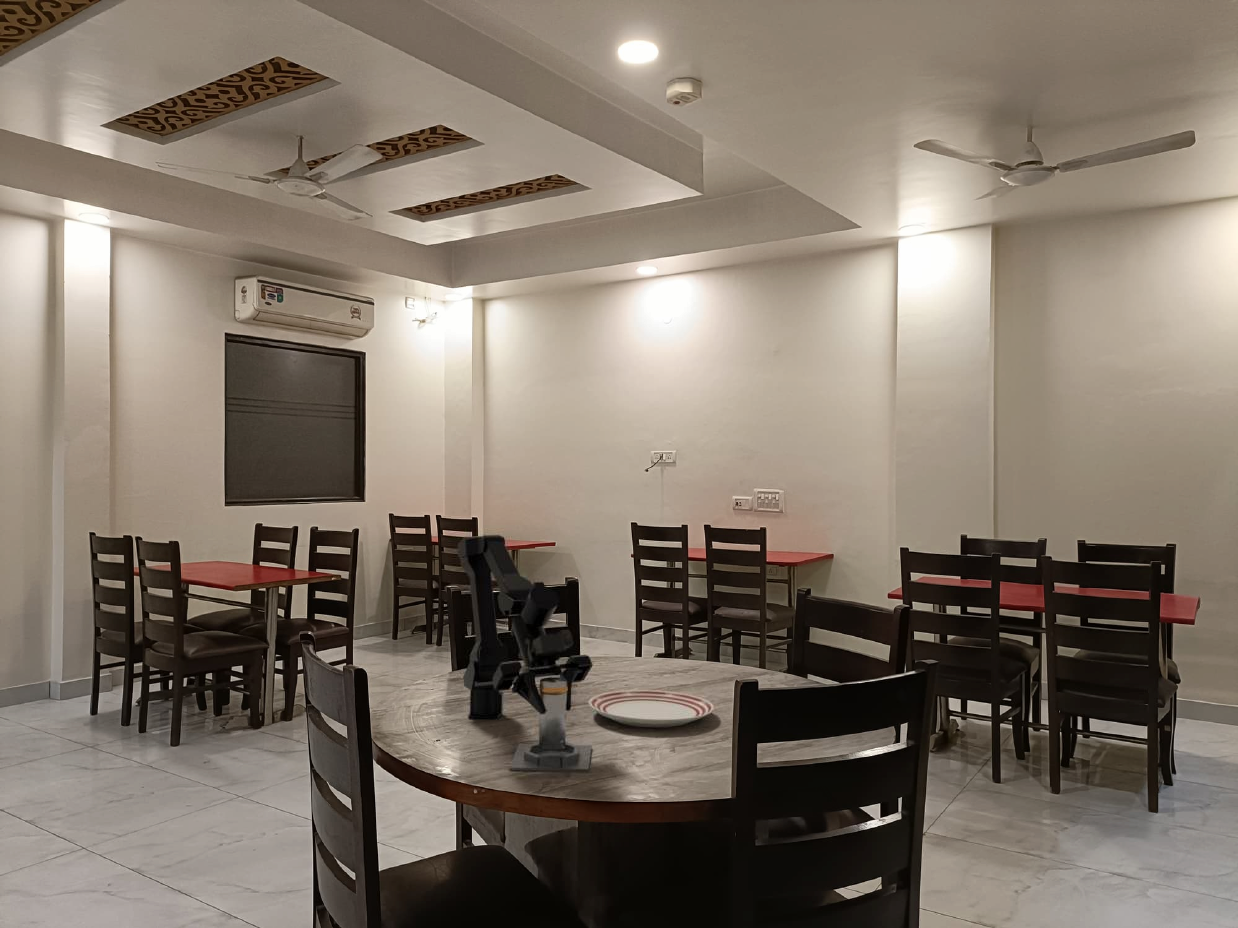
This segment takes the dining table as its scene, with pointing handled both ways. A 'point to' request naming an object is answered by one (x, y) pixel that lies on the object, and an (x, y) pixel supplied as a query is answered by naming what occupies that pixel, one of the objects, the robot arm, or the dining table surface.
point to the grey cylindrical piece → (553, 713)
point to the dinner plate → (650, 707)
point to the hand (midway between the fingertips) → (556, 711)
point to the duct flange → (552, 758)
